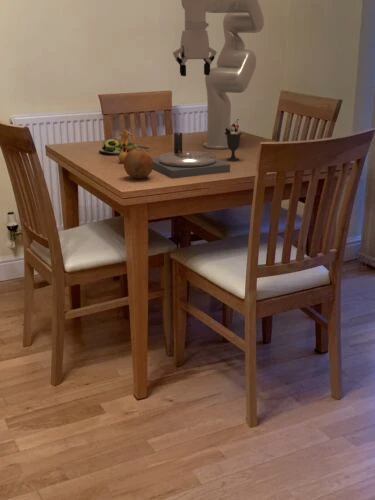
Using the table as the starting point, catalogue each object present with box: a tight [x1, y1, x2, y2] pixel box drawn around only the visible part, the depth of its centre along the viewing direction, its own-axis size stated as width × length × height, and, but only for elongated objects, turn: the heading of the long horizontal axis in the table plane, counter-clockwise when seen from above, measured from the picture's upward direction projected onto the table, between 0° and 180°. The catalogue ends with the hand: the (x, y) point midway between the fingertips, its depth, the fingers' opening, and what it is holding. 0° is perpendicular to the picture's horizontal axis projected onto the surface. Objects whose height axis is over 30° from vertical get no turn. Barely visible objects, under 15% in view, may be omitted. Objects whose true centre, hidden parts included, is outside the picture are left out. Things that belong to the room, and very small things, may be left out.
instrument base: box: [152, 157, 231, 179], centre depth 227 cm, size 22×22×3 cm
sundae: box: [225, 118, 243, 162], centre depth 239 cm, size 7×7×15 cm
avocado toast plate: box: [98, 138, 150, 156], centre depth 256 cm, size 19×18×5 cm
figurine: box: [114, 129, 137, 164], centre depth 235 cm, size 8×6×12 cm
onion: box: [123, 148, 154, 180], centre depth 212 cm, size 10×10×10 cm
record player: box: [158, 132, 217, 167], centre depth 225 cm, size 20×20×8 cm
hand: (195, 75), depth 237 cm, fingers open, 9 cm apart
